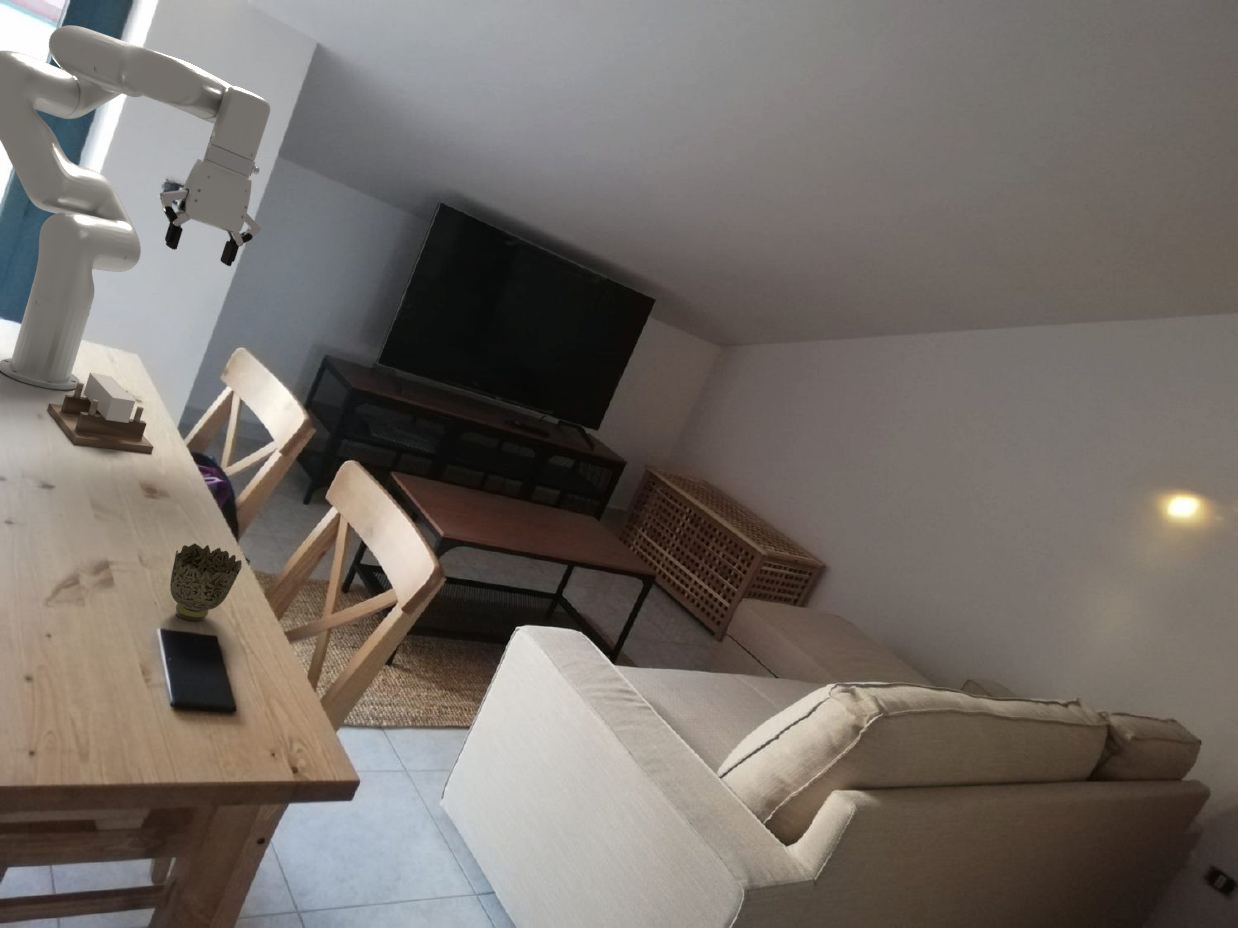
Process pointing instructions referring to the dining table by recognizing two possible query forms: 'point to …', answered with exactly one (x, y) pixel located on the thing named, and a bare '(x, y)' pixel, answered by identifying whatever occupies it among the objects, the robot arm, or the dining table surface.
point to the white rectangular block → (109, 397)
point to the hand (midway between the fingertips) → (198, 256)
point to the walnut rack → (98, 425)
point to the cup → (201, 580)
